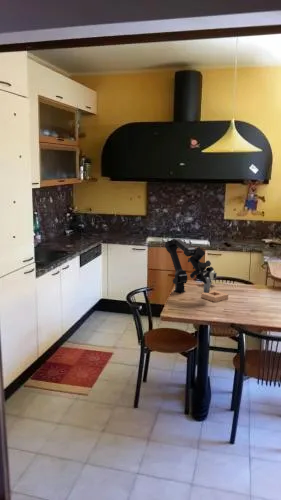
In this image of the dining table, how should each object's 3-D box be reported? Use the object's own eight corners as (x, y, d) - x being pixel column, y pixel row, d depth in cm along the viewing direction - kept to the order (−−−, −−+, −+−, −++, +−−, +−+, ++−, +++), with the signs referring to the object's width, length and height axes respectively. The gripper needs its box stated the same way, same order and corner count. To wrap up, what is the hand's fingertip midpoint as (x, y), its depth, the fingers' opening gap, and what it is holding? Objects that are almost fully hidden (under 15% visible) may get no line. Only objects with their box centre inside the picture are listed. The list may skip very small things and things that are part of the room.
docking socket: (201, 297, 280) (201, 293, 279) (214, 294, 287) (214, 290, 287) (215, 302, 270) (215, 297, 269) (228, 298, 277) (228, 294, 277)
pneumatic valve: (215, 286, 307) (216, 271, 305) (200, 285, 310) (200, 270, 308) (216, 284, 313) (216, 269, 310) (200, 283, 315) (201, 268, 313)
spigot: (202, 291, 270) (202, 277, 268) (206, 290, 272) (207, 276, 270) (206, 293, 266) (207, 278, 265) (210, 292, 269) (211, 277, 267)
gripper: (194, 258, 261) (206, 278, 256) (212, 255, 274) (224, 274, 268) (184, 268, 269) (196, 287, 263) (202, 264, 281) (214, 282, 275)
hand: (208, 282), depth 267 cm, fingers closed on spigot, 4 cm apart
